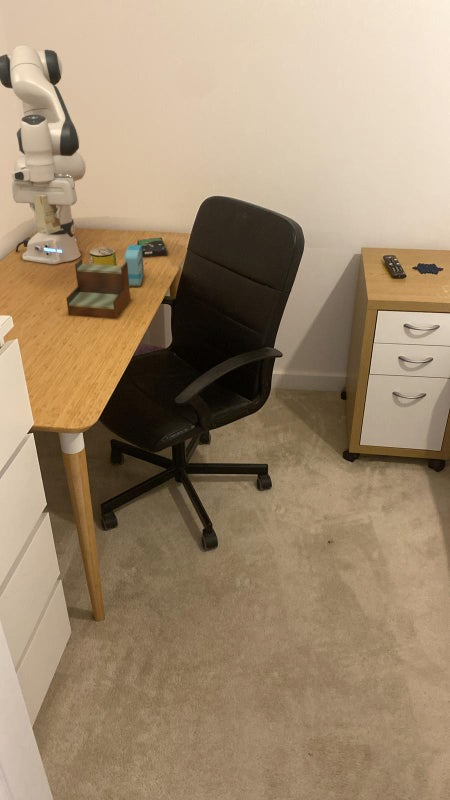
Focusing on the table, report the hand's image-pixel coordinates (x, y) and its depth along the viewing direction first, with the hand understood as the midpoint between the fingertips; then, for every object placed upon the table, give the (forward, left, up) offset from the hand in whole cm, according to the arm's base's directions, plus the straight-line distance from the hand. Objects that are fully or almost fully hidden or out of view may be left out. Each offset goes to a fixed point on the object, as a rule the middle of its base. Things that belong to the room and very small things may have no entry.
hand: (47, 217), depth 207 cm
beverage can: (+11, +15, -28) cm, 33 cm away
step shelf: (+16, -5, -27) cm, 33 cm away
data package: (+21, +19, -28) cm, 40 cm away
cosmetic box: (0, 0, -5) cm, 5 cm away
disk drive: (+18, +52, -28) cm, 61 cm away
